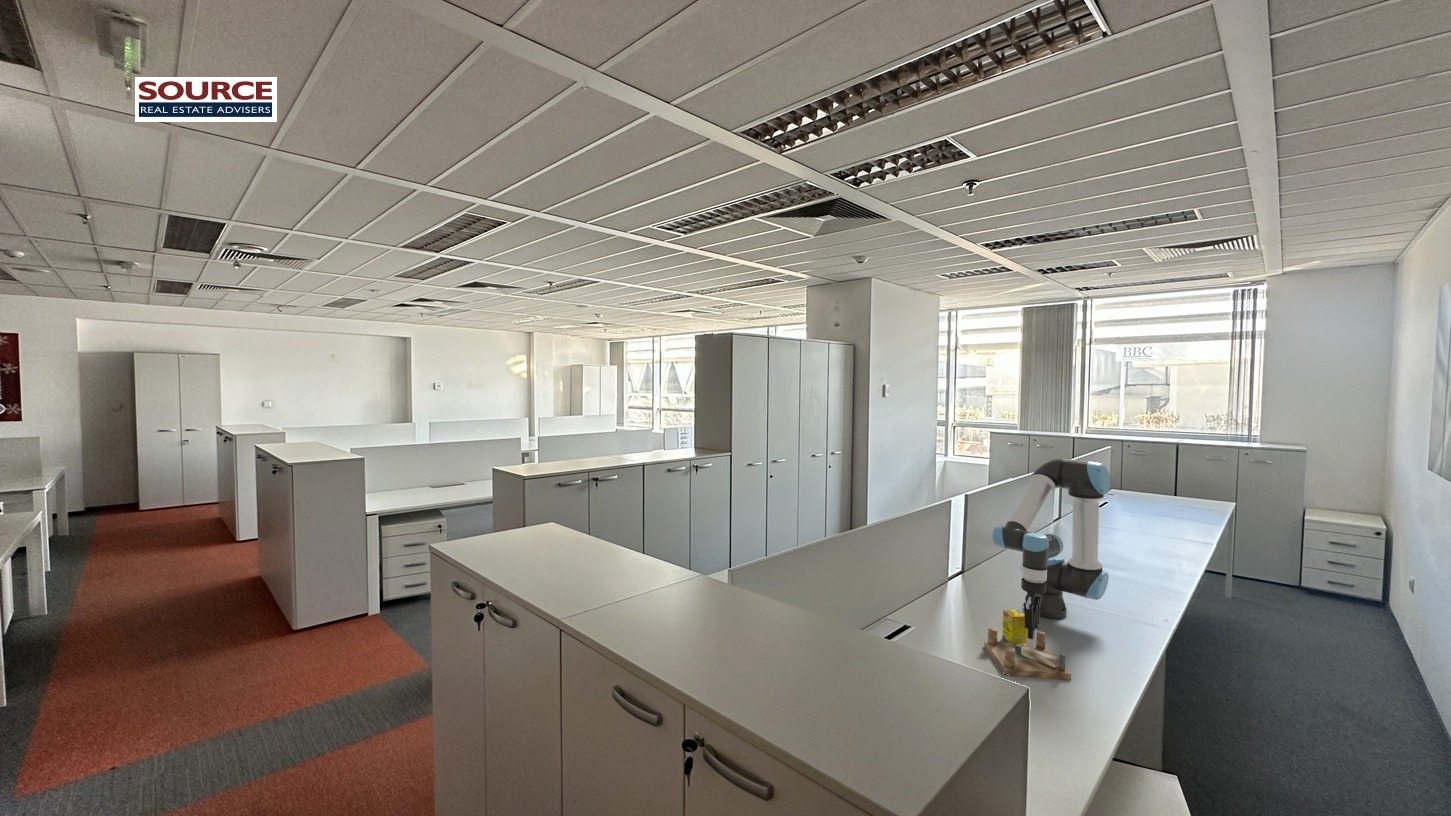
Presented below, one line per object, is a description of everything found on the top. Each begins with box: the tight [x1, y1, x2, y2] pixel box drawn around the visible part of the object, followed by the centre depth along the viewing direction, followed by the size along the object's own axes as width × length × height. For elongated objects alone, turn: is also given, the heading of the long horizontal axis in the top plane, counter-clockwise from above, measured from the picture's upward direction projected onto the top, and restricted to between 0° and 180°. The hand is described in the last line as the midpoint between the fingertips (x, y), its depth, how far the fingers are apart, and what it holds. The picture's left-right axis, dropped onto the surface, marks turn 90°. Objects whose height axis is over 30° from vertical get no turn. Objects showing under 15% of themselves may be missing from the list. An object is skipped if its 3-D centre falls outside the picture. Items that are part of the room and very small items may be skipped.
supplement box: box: [1001, 609, 1027, 644], centre depth 205 cm, size 6×6×11 cm
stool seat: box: [983, 627, 1072, 681], centre depth 190 cm, size 20×20×7 cm
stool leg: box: [1015, 643, 1059, 668], centre depth 188 cm, size 13×3×3 cm, turn 38°
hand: (1031, 646), depth 194 cm, fingers closed
